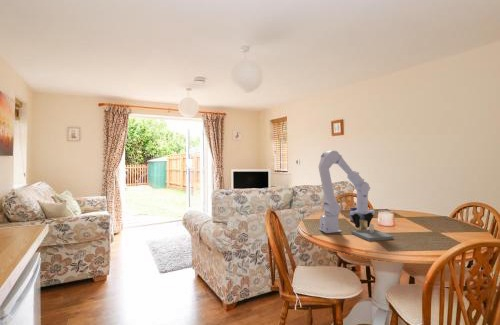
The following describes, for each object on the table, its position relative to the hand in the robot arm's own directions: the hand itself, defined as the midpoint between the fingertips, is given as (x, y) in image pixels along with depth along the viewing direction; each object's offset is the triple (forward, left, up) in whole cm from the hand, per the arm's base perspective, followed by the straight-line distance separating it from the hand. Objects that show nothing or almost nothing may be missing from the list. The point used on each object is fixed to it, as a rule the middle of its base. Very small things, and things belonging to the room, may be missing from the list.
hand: (362, 227), depth 157 cm
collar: (0, 0, -1) cm, 1 cm away
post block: (-4, -13, -1) cm, 14 cm away
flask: (+10, +18, -2) cm, 21 cm away
